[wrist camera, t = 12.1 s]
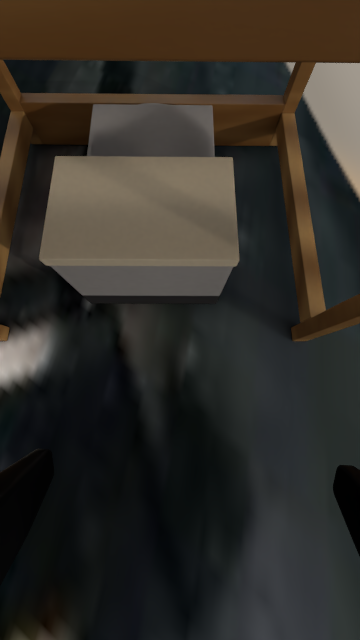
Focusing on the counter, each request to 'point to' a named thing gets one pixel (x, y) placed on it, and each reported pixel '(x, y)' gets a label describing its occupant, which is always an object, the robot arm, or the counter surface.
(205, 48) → the shoe rack
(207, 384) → the counter surface
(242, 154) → the counter surface
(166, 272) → the grey lidded shoebox
